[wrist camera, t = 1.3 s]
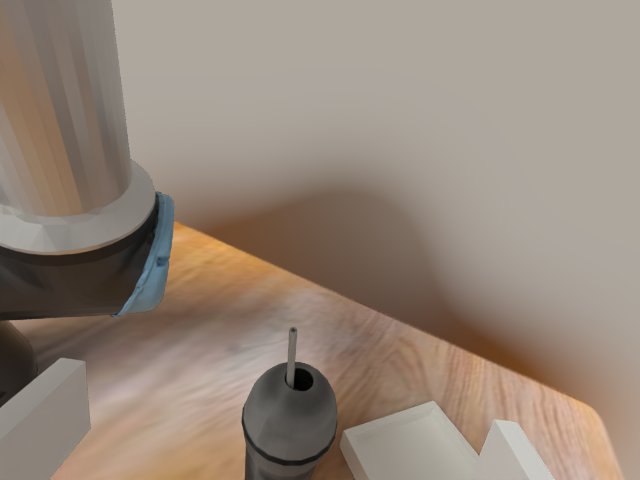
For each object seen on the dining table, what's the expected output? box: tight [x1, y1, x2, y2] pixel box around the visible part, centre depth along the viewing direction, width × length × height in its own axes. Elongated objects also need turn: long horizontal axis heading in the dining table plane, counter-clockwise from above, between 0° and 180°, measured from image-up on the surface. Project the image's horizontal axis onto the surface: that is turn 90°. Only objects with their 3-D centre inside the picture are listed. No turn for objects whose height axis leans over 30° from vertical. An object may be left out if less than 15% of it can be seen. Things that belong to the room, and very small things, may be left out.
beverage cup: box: [242, 327, 337, 480], centre depth 26 cm, size 7×7×20 cm
